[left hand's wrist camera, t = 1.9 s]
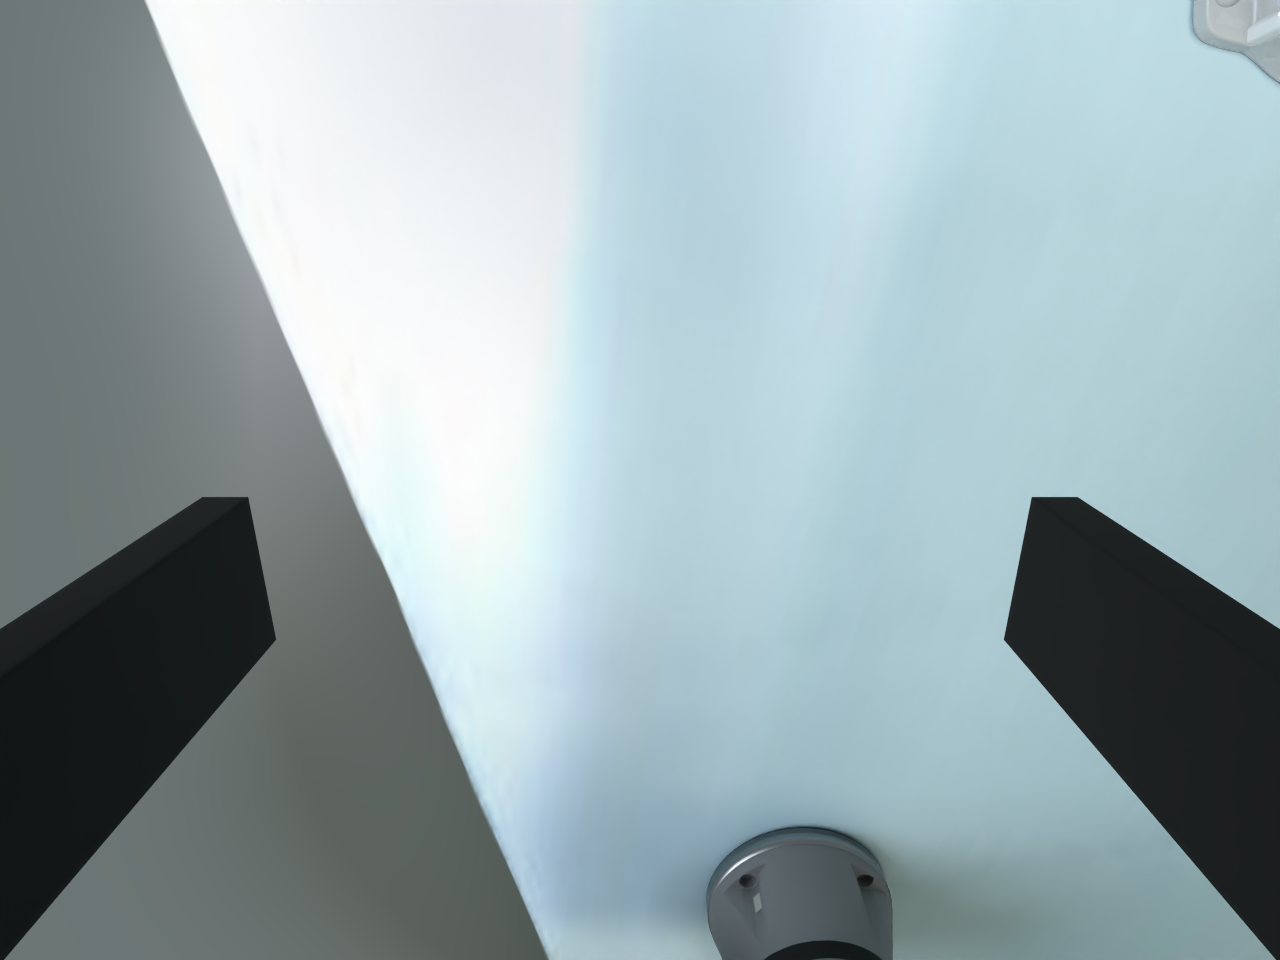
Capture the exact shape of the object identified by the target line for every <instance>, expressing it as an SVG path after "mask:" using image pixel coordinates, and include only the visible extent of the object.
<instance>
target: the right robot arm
mask: <svg viewBox="0 0 1280 960" xmlns="http://www.w3.org/2000/svg"><path fill="white" fill-rule="evenodd" d="M1193 28H1194V32H1195V34H1196V36H1197V37H1198V38H1199V39H1200V40H1201V41H1203V42H1204V43H1206V44H1209V45H1211V46H1214V47H1218V48H1222V49H1226V50H1230V51H1236V52H1241V53H1243V54H1244V55H1246V56H1248V57H1249V58H1250V59H1252V60H1253V61H1254V62H1255V63H1256V64H1257V65H1258V66H1259V67H1261V68H1262V69H1263V70H1264V71H1265V72H1266V73H1267V74H1268V75H1269V76H1271V77H1272V78H1273V79H1274V80H1276V81H1277V82H1279V83H1280V0H1194V3H1193Z"/></svg>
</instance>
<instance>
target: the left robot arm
mask: <svg viewBox="0 0 1280 960" xmlns="http://www.w3.org/2000/svg"><path fill="white" fill-rule="evenodd" d="M275 640H276V637H275V632H274V627H273V622H272V616H271V611H270V606H269V601H268V596H267V591H266V586H265V581H264V576H263V571H262V565H261V560H260V555H259V550H258V545H257V540H256V535H255V530H254V525H253V520H252V514H251V509H250V504H249V499H248V497H202V498H201V499H199V500H197V501H196V502H194V503H193V504H191V505H190V506H188V507H187V508H185V509H184V510H182V511H181V512H179V513H177V514H176V515H174V516H173V517H171V518H170V519H168V520H167V521H165V522H164V523H162V524H161V525H159V526H158V527H156V528H155V529H153V530H151V531H150V532H148V533H147V534H145V535H144V536H142V537H141V538H139V539H138V540H136V541H135V542H133V543H132V544H130V545H128V546H127V547H125V548H124V549H122V550H121V551H119V552H118V553H116V554H115V555H113V556H112V557H110V558H108V559H107V560H105V561H104V562H102V563H101V564H99V565H98V566H96V567H95V568H93V569H92V570H90V571H89V572H87V573H86V574H84V575H82V576H81V577H79V578H78V579H76V580H75V581H73V582H72V583H70V584H69V585H67V586H66V587H64V588H63V589H61V590H60V591H58V592H56V593H55V594H53V595H52V596H50V597H49V598H47V599H46V600H44V601H43V602H41V603H40V604H38V605H37V606H35V607H33V608H32V609H30V610H29V611H27V612H26V613H24V614H23V615H21V616H20V617H18V618H17V619H15V620H14V621H12V622H10V623H9V624H7V625H6V626H4V627H3V628H1V629H0V960H4V959H5V958H6V957H7V955H8V954H9V953H10V952H11V951H12V950H13V948H14V947H15V946H16V945H17V944H18V943H19V941H20V940H21V939H22V938H23V937H24V935H25V934H26V933H27V932H28V931H29V930H30V928H31V927H32V926H33V925H34V924H35V923H36V921H37V920H38V919H39V918H40V917H41V915H42V914H43V913H44V912H45V911H46V910H47V908H48V907H49V906H50V905H51V904H52V903H53V901H54V900H55V899H56V898H57V897H58V895H59V894H60V893H61V892H62V891H63V890H64V888H65V887H66V886H67V885H68V884H69V883H70V881H71V880H72V879H73V878H74V877H75V875H76V874H77V873H78V872H79V871H80V870H81V868H82V867H83V866H84V865H85V864H86V863H87V861H88V860H89V859H90V858H91V857H92V855H93V854H94V853H95V852H96V851H97V850H98V848H99V847H100V846H101V845H102V844H103V843H104V841H105V840H106V839H107V838H108V837H109V835H110V834H111V833H112V832H113V831H114V830H115V828H116V827H117V826H118V825H119V824H120V823H121V821H122V820H123V819H124V818H125V817H126V815H127V814H128V813H129V812H130V811H131V810H132V808H133V807H134V806H135V805H136V804H137V803H138V801H139V800H140V799H141V798H142V797H143V795H144V794H145V793H146V792H147V791H148V790H149V788H150V787H151V786H152V785H153V784H154V783H155V781H156V780H157V779H158V778H159V777H160V776H161V774H162V773H163V772H164V771H165V770H166V768H167V767H168V766H169V765H170V764H171V763H172V761H173V760H174V759H175V758H176V757H177V756H178V754H179V753H180V752H181V751H182V750H183V748H184V747H185V746H186V745H187V744H188V743H189V741H190V740H191V739H192V738H193V737H194V736H195V734H196V733H197V732H198V731H199V730H200V728H201V727H202V726H203V725H204V724H205V723H206V721H207V720H208V719H209V718H210V717H211V716H212V714H213V713H214V712H215V711H216V710H217V708H218V707H219V706H220V705H221V704H222V703H223V701H224V700H225V699H226V698H227V697H228V696H229V694H230V693H231V692H232V691H233V690H234V688H235V687H236V686H237V685H238V684H239V683H240V681H241V680H242V679H243V678H244V677H245V676H246V674H247V673H248V672H249V671H250V670H251V668H252V667H253V666H254V665H255V664H256V663H257V661H258V660H259V659H260V658H261V657H262V656H263V654H264V653H265V652H266V651H267V650H268V648H269V647H270V646H271V645H272V644H273V643H274V641H275ZM1004 640H1005V641H1006V643H1007V644H1008V645H1009V646H1010V647H1011V649H1012V650H1013V651H1014V652H1015V653H1016V654H1017V656H1018V657H1019V658H1020V659H1021V660H1022V661H1023V663H1024V664H1025V665H1026V666H1027V667H1028V668H1029V670H1030V671H1031V672H1032V673H1033V674H1034V676H1035V677H1036V678H1037V679H1038V680H1039V681H1040V683H1041V684H1042V685H1043V686H1044V687H1045V688H1046V690H1047V691H1048V692H1049V693H1050V694H1051V696H1052V697H1053V698H1054V699H1055V700H1056V701H1057V703H1058V704H1059V705H1060V706H1061V707H1062V708H1063V710H1064V711H1065V712H1066V713H1067V714H1068V716H1069V717H1070V718H1071V719H1072V720H1073V721H1074V723H1075V724H1076V725H1077V726H1078V727H1079V728H1080V730H1081V731H1082V732H1083V733H1084V734H1085V736H1086V737H1087V738H1088V739H1089V740H1090V741H1091V743H1092V744H1093V745H1094V746H1095V747H1096V748H1097V750H1098V751H1099V752H1100V753H1101V754H1102V756H1103V757H1104V758H1105V759H1106V760H1107V761H1108V763H1109V764H1110V765H1111V766H1112V767H1113V768H1114V770H1115V771H1116V772H1117V773H1118V774H1119V776H1120V777H1121V778H1122V779H1123V780H1124V781H1125V783H1126V784H1127V785H1128V786H1129V787H1130V788H1131V790H1132V791H1133V792H1134V793H1135V794H1136V796H1137V797H1138V798H1139V799H1140V800H1141V801H1142V803H1143V804H1144V805H1145V806H1146V807H1147V808H1148V810H1149V811H1150V812H1151V813H1152V814H1153V815H1154V817H1155V818H1156V819H1157V820H1158V821H1159V823H1160V824H1161V825H1162V826H1163V827H1164V828H1165V830H1166V831H1167V832H1168V833H1169V834H1170V835H1171V837H1172V838H1173V839H1174V840H1175V841H1176V843H1177V844H1178V845H1179V846H1180V847H1181V848H1182V850H1183V851H1184V852H1185V853H1186V854H1187V855H1188V857H1189V858H1190V859H1191V860H1192V861H1193V863H1194V864H1195V865H1196V866H1197V867H1198V868H1199V870H1200V871H1201V872H1202V873H1203V874H1204V875H1205V877H1206V878H1207V879H1208V880H1209V881H1210V883H1211V884H1212V885H1213V886H1214V887H1215V888H1216V890H1217V891H1218V892H1219V893H1220V894H1221V895H1222V897H1223V898H1224V899H1225V900H1226V901H1227V903H1228V904H1229V905H1230V906H1231V907H1232V908H1233V910H1234V911H1235V912H1236V913H1237V914H1238V915H1239V917H1240V918H1241V919H1242V920H1243V921H1244V923H1245V924H1246V925H1247V926H1248V927H1249V928H1250V930H1251V931H1252V932H1253V933H1254V934H1255V935H1256V937H1257V938H1258V939H1259V940H1260V941H1261V943H1262V944H1263V945H1264V946H1265V947H1266V948H1267V950H1268V951H1269V952H1270V953H1271V954H1272V955H1273V957H1274V958H1275V959H1276V960H1280V629H1279V628H1277V627H1276V626H1274V625H1273V624H1271V623H1270V622H1268V621H1267V620H1265V619H1263V618H1262V617H1260V616H1259V615H1257V614H1256V613H1254V612H1253V611H1251V610H1250V609H1248V608H1247V607H1245V606H1244V605H1242V604H1240V603H1239V602H1237V601H1236V600H1234V599H1233V598H1231V597H1230V596H1228V595H1227V594H1225V593H1224V592H1222V591H1221V590H1219V589H1217V588H1216V587H1214V586H1213V585H1211V584H1210V583H1208V582H1207V581H1205V580H1204V579H1202V578H1201V577H1199V576H1198V575H1196V574H1194V573H1193V572H1191V571H1190V570H1188V569H1187V568H1185V567H1184V566H1182V565H1181V564H1179V563H1178V562H1176V561H1175V560H1173V559H1172V558H1170V557H1168V556H1167V555H1165V554H1164V553H1162V552H1161V551H1159V550H1158V549H1156V548H1155V547H1153V546H1152V545H1150V544H1149V543H1147V542H1145V541H1144V540H1142V539H1141V538H1139V537H1138V536H1136V535H1135V534H1133V533H1132V532H1130V531H1129V530H1127V529H1126V528H1124V527H1122V526H1121V525H1119V524H1118V523H1116V522H1115V521H1113V520H1112V519H1110V518H1109V517H1107V516H1106V515H1104V514H1103V513H1101V512H1099V511H1098V510H1096V509H1095V508H1093V507H1092V506H1090V505H1089V504H1087V503H1086V502H1084V501H1083V500H1081V499H1080V498H1078V497H1032V499H1031V504H1030V509H1029V514H1028V519H1027V525H1026V530H1025V535H1024V540H1023V545H1022V550H1021V555H1020V560H1019V565H1018V571H1017V576H1016V581H1015V586H1014V591H1013V596H1012V601H1011V606H1010V611H1009V616H1008V622H1007V627H1006V632H1005V637H1004ZM707 912H708V921H709V927H710V931H711V934H712V936H713V939H714V942H715V944H716V946H717V948H718V951H719V953H720V955H721V957H722V959H723V960H893V952H892V902H891V895H890V891H889V888H888V886H887V883H886V880H885V877H884V875H883V872H882V870H881V868H880V866H879V864H878V862H877V861H876V859H875V858H874V857H873V856H872V855H871V853H869V852H868V851H867V850H866V849H865V848H864V847H863V846H861V845H860V844H858V843H857V842H855V841H854V840H852V839H850V838H848V837H846V836H843V835H840V834H838V833H834V832H831V831H827V830H821V829H813V828H792V829H784V830H778V831H774V832H770V833H767V834H764V835H761V836H758V837H756V838H754V839H751V840H749V841H748V842H746V843H744V844H742V845H741V846H739V847H738V848H736V849H735V850H734V851H732V852H731V853H730V854H729V855H728V856H727V857H726V858H725V859H724V860H723V861H722V862H721V863H720V864H719V866H718V867H717V869H716V870H715V872H714V874H713V876H712V877H711V880H710V883H709V886H708V890H707Z"/></svg>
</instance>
